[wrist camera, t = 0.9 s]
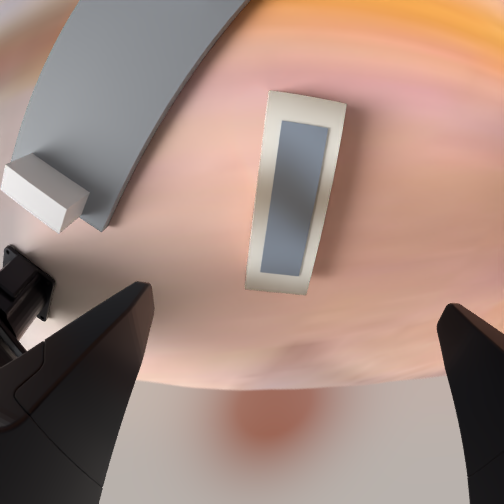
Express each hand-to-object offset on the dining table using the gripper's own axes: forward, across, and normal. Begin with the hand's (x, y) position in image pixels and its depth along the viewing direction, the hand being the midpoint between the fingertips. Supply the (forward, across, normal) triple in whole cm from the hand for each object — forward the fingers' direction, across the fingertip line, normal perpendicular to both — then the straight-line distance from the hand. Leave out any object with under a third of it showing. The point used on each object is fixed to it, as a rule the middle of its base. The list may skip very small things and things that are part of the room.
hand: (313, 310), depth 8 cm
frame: (+12, 0, 0) cm, 12 cm away
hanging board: (+12, +12, -7) cm, 18 cm away
